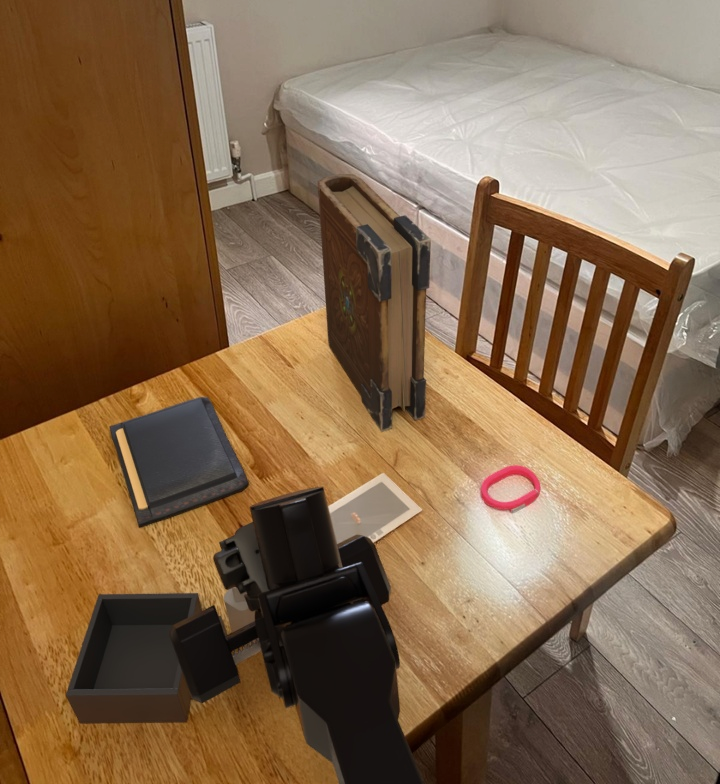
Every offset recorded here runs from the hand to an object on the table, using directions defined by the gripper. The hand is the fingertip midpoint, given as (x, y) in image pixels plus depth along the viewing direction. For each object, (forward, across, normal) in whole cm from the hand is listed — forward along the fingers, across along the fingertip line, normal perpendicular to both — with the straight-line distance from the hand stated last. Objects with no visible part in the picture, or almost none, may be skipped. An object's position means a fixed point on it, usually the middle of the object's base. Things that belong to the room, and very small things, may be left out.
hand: (264, 599), depth 70 cm
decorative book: (+33, -32, -16) cm, 48 cm away
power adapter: (+12, 0, +5) cm, 13 cm away
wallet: (+32, 0, -16) cm, 36 cm away
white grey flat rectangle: (+16, -16, +1) cm, 23 cm away
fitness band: (+12, -36, +5) cm, 38 cm away
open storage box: (+12, +12, +4) cm, 18 cm away
